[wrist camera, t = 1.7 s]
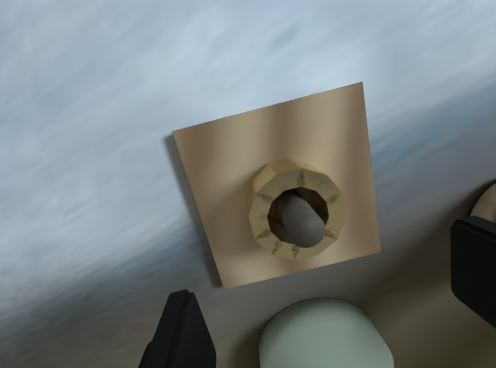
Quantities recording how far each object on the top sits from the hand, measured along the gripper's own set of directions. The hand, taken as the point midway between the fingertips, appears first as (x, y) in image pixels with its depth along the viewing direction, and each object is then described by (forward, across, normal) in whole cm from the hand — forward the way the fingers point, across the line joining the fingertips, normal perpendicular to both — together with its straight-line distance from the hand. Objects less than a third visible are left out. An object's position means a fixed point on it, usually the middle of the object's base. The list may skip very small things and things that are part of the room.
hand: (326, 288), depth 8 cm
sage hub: (+11, -1, +17) cm, 21 cm away
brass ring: (+10, -1, 0) cm, 10 cm away
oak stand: (+11, -1, 0) cm, 11 cm away
